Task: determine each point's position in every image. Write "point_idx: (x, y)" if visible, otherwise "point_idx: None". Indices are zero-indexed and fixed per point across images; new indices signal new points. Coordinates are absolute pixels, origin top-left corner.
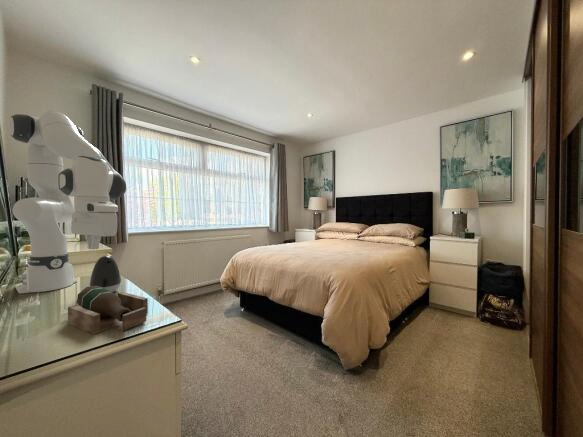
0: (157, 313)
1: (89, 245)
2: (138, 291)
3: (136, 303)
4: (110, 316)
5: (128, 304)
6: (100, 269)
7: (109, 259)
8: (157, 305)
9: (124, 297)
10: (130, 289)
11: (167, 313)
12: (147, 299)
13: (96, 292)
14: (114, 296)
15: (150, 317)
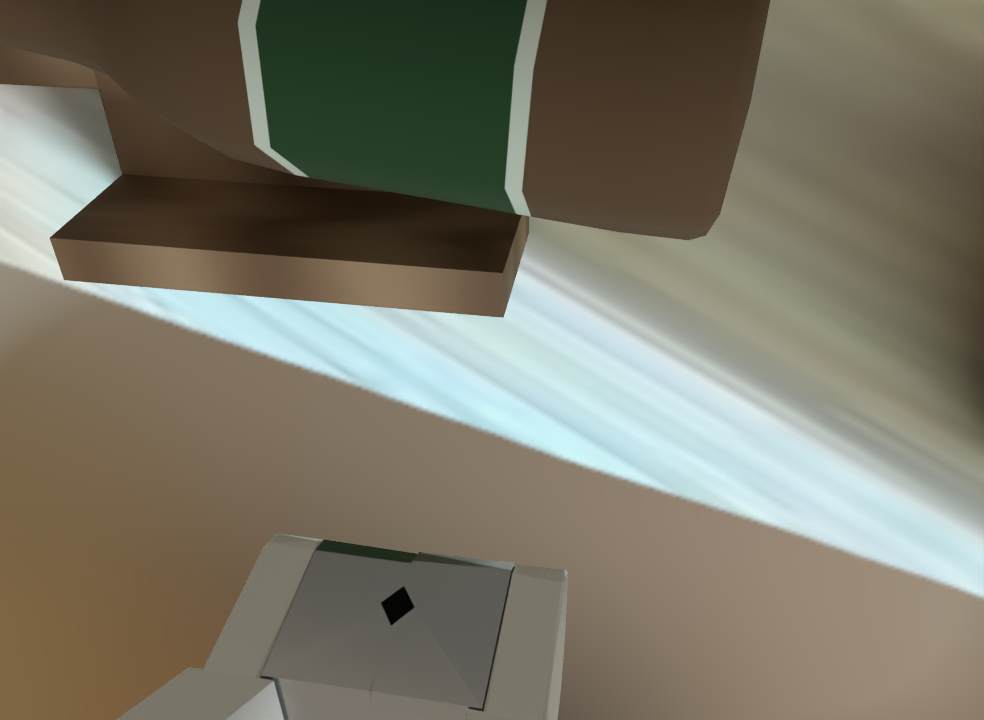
0: None
1: (427, 642)
2: (792, 524)
3: (184, 218)
4: None
5: (323, 210)
6: None
7: None
8: (265, 349)
9: (372, 246)
10: (941, 543)
11: (28, 266)
12: (69, 271)
13: (348, 30)
14: (131, 90)
15: (43, 163)
